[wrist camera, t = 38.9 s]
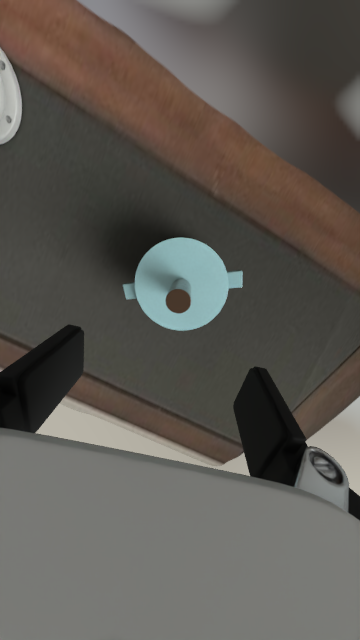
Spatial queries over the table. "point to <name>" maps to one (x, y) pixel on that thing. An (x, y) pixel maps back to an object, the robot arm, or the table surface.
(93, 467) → the robot arm
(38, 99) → the table surface
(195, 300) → the pot lid
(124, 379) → the table surface
